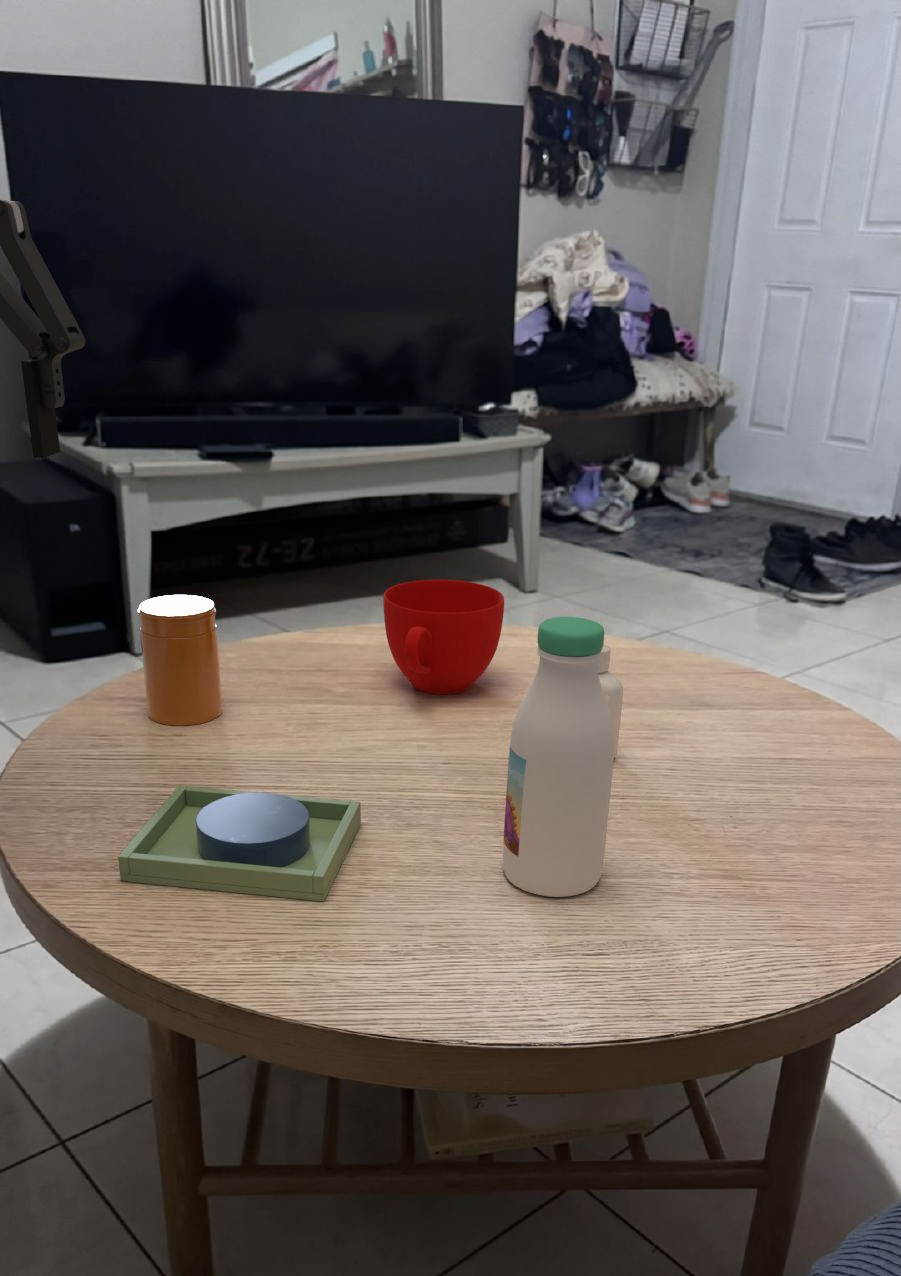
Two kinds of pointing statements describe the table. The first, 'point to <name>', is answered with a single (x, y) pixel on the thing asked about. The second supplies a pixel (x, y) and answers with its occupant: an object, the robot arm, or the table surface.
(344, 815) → the tray
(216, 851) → the lid
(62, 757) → the table surface
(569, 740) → the milk bottle
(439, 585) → the ceramic cup
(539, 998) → the table surface
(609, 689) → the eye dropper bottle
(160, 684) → the jar
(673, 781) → the table surface
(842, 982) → the table surface
